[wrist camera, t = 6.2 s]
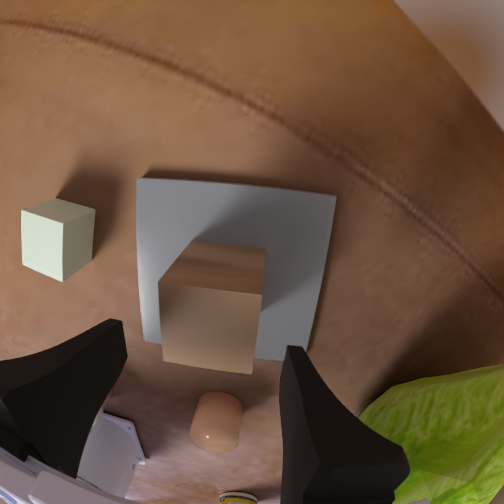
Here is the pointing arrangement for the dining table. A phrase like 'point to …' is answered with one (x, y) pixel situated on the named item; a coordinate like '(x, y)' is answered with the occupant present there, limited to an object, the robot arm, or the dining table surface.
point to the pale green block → (57, 237)
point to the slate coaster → (243, 234)
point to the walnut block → (212, 306)
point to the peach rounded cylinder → (216, 422)
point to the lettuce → (446, 435)
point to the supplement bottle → (236, 498)
